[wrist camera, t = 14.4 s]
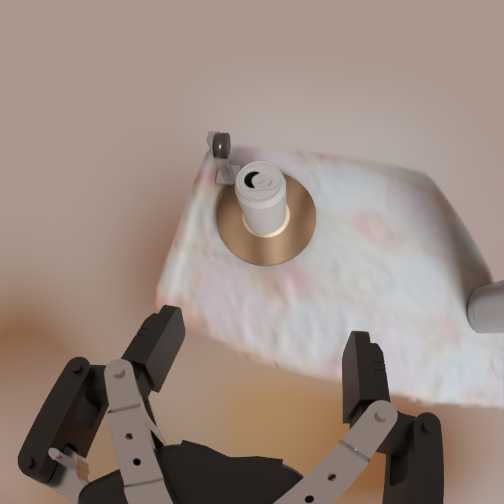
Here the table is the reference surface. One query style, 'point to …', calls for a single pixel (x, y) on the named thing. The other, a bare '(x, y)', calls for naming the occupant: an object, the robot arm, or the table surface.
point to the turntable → (274, 244)
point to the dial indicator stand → (223, 158)
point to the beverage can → (262, 196)
